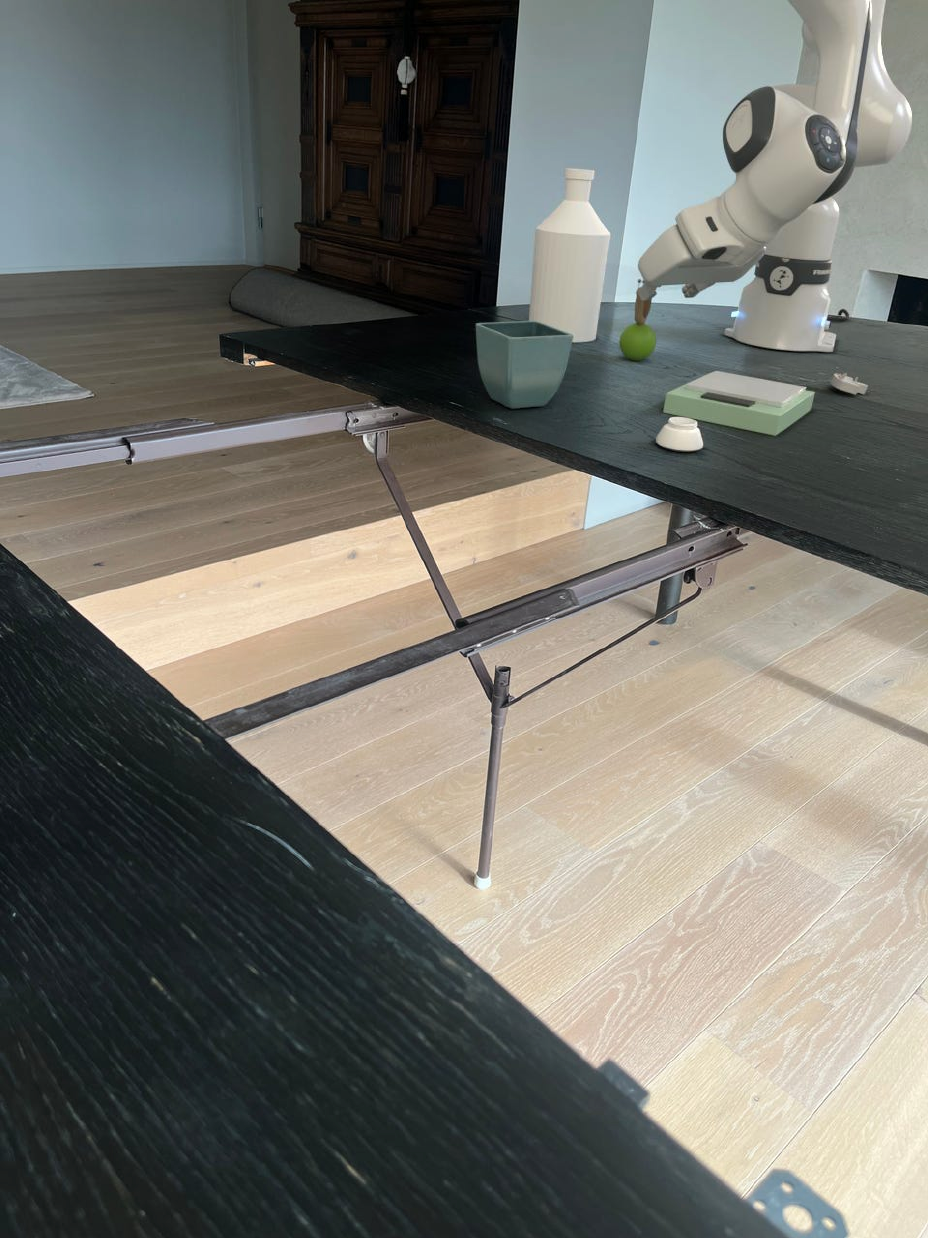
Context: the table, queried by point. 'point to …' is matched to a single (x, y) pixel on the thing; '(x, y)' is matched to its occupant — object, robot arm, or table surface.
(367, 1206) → the table surface
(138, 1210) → the table surface
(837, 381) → the game controller
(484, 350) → the flower pot
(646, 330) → the snail figurine
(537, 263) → the bottle
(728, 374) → the scale
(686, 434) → the lidless jar
